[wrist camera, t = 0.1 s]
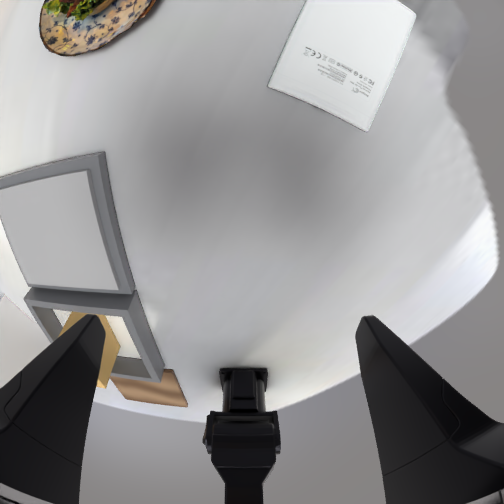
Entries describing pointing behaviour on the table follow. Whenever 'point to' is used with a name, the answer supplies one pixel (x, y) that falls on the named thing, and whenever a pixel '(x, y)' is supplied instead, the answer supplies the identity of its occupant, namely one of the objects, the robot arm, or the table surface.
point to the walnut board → (153, 390)
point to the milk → (17, 340)
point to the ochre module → (108, 352)
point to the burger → (87, 23)
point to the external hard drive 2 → (344, 56)
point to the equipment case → (75, 252)
